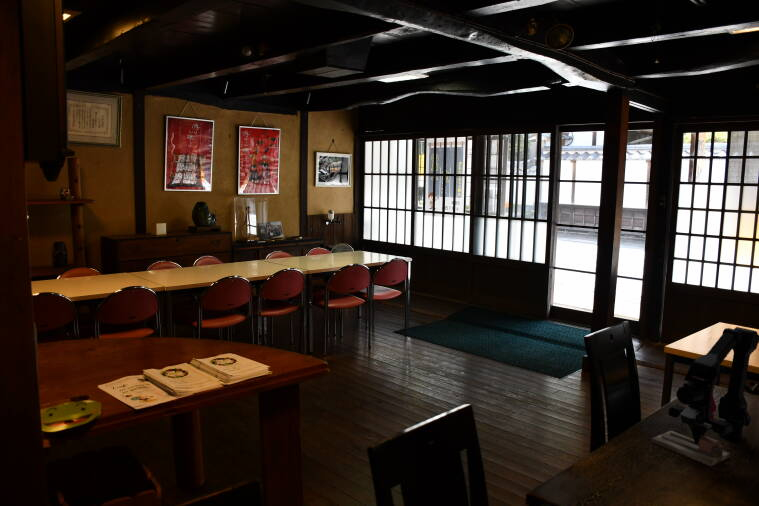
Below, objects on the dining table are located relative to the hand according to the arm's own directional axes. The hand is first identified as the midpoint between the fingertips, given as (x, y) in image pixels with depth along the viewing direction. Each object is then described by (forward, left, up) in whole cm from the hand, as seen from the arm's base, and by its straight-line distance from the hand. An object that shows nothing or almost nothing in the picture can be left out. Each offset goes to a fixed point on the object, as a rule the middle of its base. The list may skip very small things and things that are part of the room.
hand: (696, 443), depth 197 cm
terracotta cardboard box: (0, +4, -1) cm, 4 cm away
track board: (0, -2, -3) cm, 4 cm away
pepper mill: (-33, -14, -3) cm, 36 cm away
